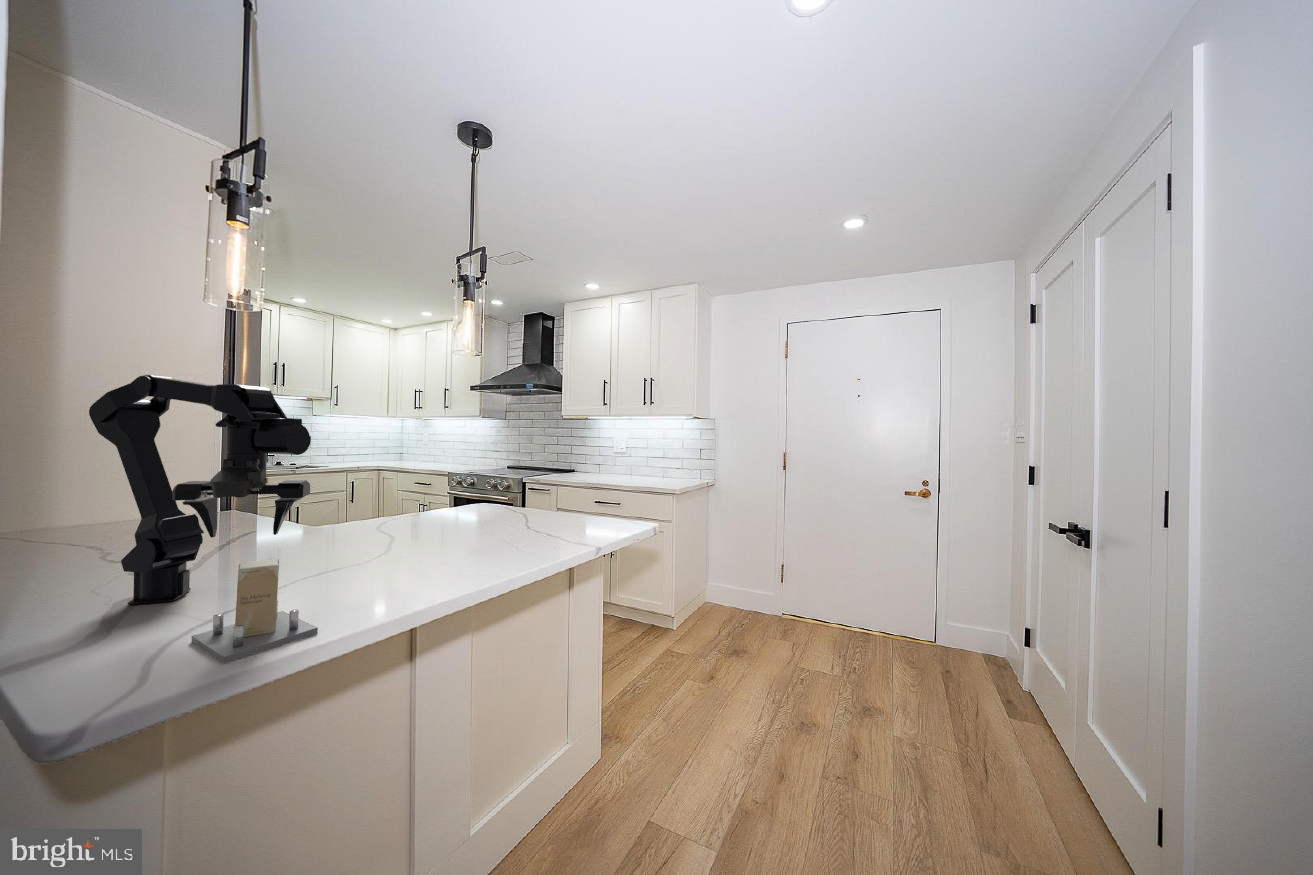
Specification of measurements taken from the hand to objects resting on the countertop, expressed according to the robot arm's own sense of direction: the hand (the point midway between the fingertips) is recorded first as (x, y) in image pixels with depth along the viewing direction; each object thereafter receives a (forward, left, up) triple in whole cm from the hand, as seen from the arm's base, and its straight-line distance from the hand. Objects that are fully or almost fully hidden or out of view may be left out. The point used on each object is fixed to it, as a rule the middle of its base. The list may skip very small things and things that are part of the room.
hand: (245, 535), depth 88 cm
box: (+7, -17, -12) cm, 22 cm away
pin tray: (+7, -17, -13) cm, 23 cm away
